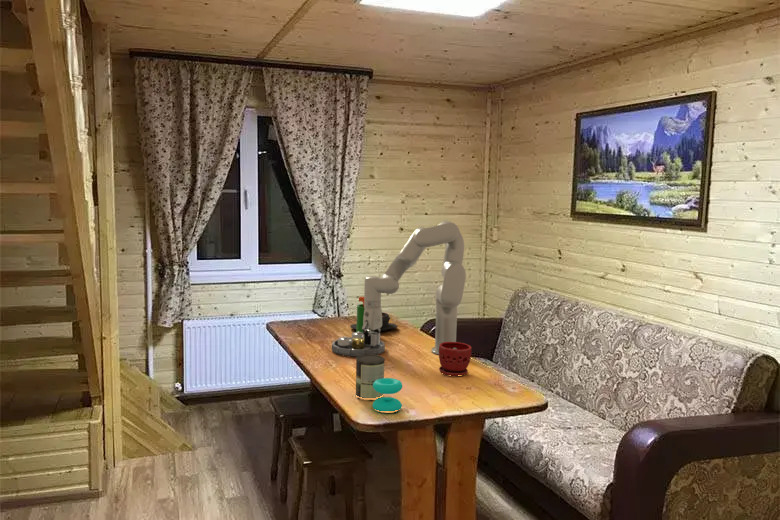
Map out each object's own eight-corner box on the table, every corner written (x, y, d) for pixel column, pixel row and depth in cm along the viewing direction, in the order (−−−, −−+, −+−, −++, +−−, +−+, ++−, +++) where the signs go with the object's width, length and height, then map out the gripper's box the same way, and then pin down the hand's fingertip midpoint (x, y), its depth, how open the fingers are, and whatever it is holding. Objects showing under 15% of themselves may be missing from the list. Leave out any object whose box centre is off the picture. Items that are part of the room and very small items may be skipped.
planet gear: (383, 343, 301) (383, 332, 301) (374, 346, 295) (375, 335, 294) (368, 341, 305) (368, 330, 304) (360, 344, 298) (360, 333, 298)
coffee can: (349, 396, 238) (350, 358, 236) (368, 390, 246) (369, 353, 244) (371, 403, 232) (371, 363, 230) (389, 396, 240) (390, 358, 238)
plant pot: (444, 379, 262) (445, 349, 260) (433, 370, 274) (434, 341, 273) (475, 377, 265) (476, 348, 264) (463, 368, 278) (464, 340, 276)
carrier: (393, 348, 308) (394, 333, 308) (367, 360, 287) (368, 343, 286) (349, 341, 320) (349, 326, 319) (321, 352, 299) (321, 336, 298)
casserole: (354, 334, 334) (354, 318, 333) (346, 326, 352) (347, 311, 351) (401, 333, 341) (402, 317, 340) (392, 325, 359) (392, 310, 358)
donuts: (408, 383, 223) (382, 387, 217) (407, 411, 224) (382, 416, 219) (392, 375, 231) (367, 379, 226) (391, 403, 232) (367, 407, 227)
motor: (373, 339, 325) (374, 299, 323) (355, 338, 326) (356, 298, 323) (374, 334, 335) (375, 295, 333) (356, 334, 336) (357, 295, 333)
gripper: (370, 307, 288) (369, 347, 290) (389, 301, 304) (388, 339, 306) (355, 306, 292) (354, 345, 294) (374, 300, 307) (374, 337, 309)
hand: (371, 342), depth 300 cm, fingers closed on planet gear, 7 cm apart
